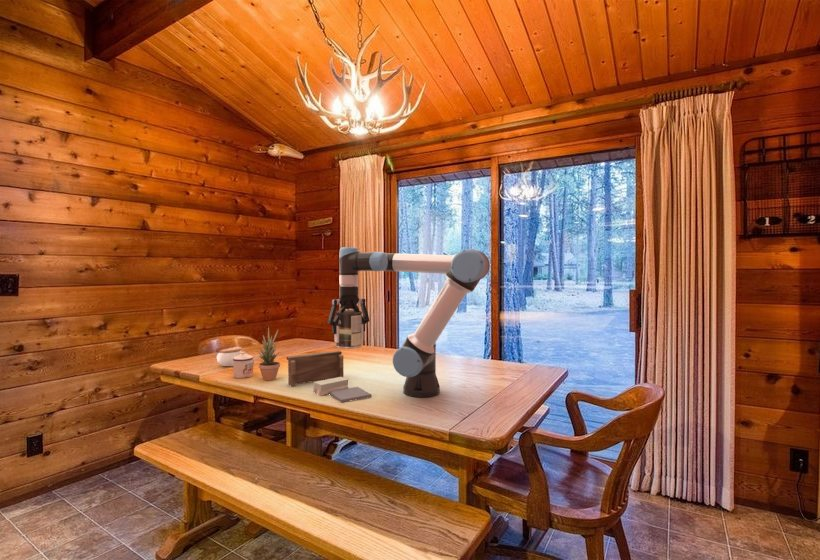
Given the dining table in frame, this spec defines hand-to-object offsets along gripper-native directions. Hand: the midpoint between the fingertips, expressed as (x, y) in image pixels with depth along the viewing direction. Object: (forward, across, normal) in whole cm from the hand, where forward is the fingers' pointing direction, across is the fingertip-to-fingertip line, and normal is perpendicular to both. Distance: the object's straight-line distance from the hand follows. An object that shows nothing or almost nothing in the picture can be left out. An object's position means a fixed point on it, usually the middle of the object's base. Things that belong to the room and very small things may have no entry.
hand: (349, 340), depth 169 cm
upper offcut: (+20, +4, -10) cm, 23 cm away
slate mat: (+22, 0, 0) cm, 22 cm away
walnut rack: (+22, +4, -28) cm, 36 cm away
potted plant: (+23, +21, -44) cm, 54 cm away
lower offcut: (+23, +4, -10) cm, 25 cm away
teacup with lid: (+23, +29, -57) cm, 68 cm away
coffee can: (+2, 0, 0) cm, 2 cm away
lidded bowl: (+23, +32, -84) cm, 92 cm away
